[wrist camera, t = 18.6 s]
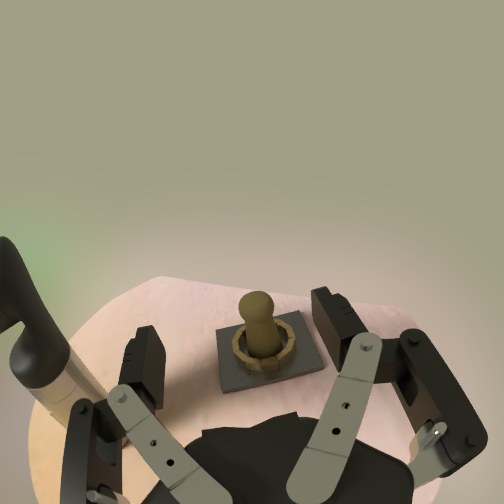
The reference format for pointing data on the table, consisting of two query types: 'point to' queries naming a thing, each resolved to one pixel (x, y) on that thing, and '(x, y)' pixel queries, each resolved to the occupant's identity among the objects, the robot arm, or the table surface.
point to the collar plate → (269, 369)
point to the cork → (260, 325)
